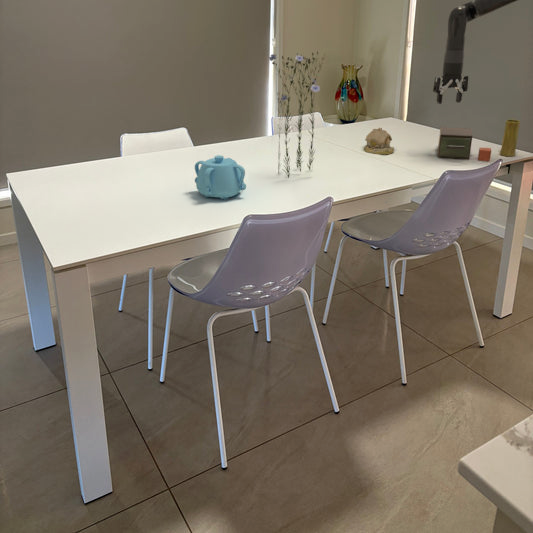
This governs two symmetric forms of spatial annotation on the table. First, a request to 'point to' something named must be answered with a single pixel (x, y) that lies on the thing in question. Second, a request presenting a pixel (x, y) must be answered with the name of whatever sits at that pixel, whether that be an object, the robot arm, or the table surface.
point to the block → (484, 154)
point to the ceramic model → (378, 142)
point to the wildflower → (315, 89)
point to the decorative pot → (219, 177)
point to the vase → (510, 138)
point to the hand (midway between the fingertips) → (448, 102)
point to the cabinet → (454, 133)
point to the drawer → (455, 146)
